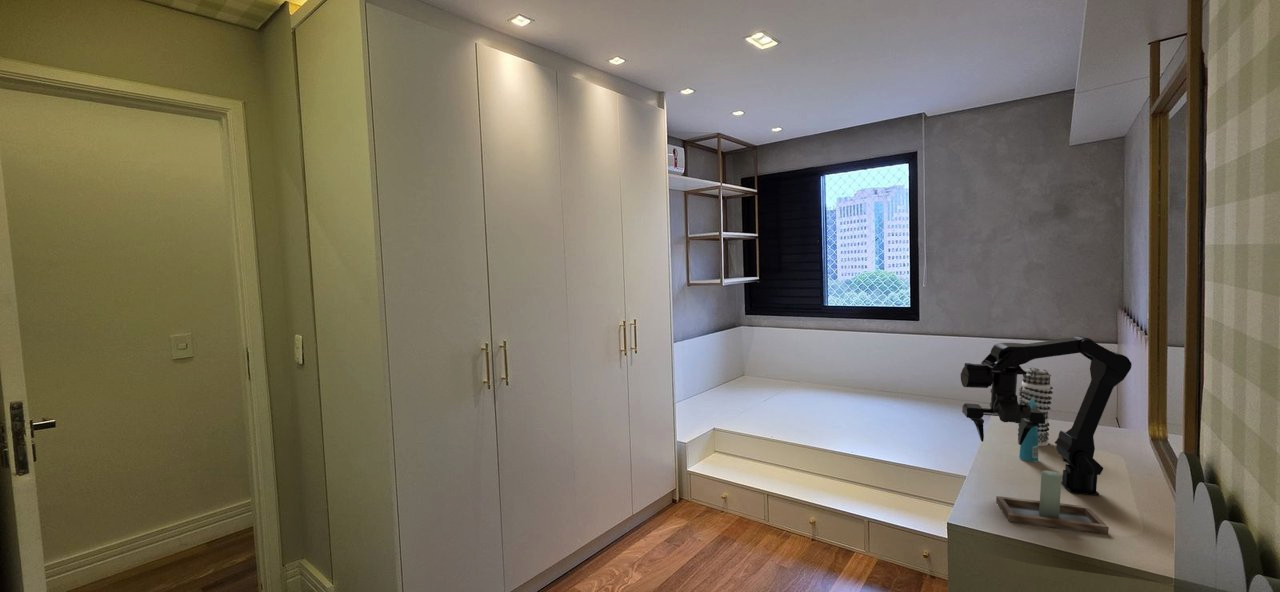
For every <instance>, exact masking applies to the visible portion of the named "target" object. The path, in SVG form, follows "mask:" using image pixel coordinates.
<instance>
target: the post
mask: <svg viewBox="0 0 1280 592" xmlns="http://www.w3.org/2000/svg"><path fill="white" fill-rule="evenodd" d="M1040 473H1041V476H1040V491H1039V493H1040V494H1039V501H1040V505H1039V515H1040V516H1041V517H1047V518H1056V519H1059V511H1060V503H1061V493H1062V492H1061V491H1062V478H1063V474H1061V473H1058V472H1055V471H1053V470H1042V471H1041V472H1040Z"/></svg>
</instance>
